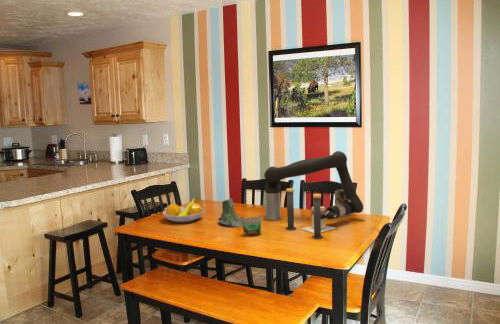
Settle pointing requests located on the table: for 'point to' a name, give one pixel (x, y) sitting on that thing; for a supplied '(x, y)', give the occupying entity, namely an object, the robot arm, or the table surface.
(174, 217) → the fruit bowl
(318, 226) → the gate
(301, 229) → the mat
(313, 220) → the carton
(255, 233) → the food container
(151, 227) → the table surface
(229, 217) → the tree stump
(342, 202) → the coffee box
